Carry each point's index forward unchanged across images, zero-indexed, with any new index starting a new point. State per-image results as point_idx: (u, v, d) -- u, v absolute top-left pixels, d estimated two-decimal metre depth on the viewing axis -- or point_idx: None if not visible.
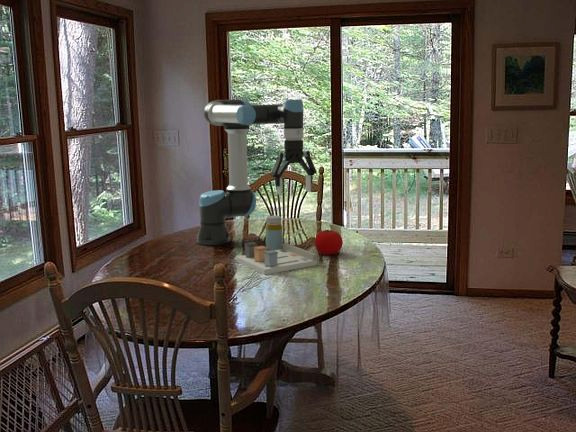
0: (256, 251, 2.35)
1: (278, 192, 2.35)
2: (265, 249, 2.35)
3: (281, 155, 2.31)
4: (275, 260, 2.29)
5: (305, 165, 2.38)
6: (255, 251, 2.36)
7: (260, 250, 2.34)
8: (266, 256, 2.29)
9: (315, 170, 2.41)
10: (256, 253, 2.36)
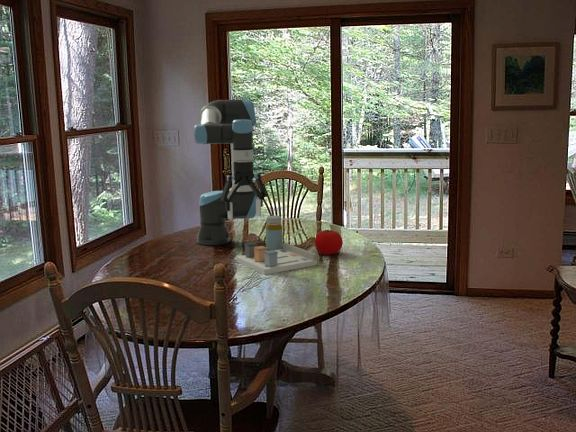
0: (256, 251, 2.35)
1: (228, 217, 2.26)
2: (265, 249, 2.35)
3: (229, 178, 2.22)
4: (275, 260, 2.29)
5: (255, 188, 2.29)
6: (255, 251, 2.36)
7: (260, 250, 2.34)
8: (266, 256, 2.29)
9: (266, 194, 2.32)
10: (256, 253, 2.36)
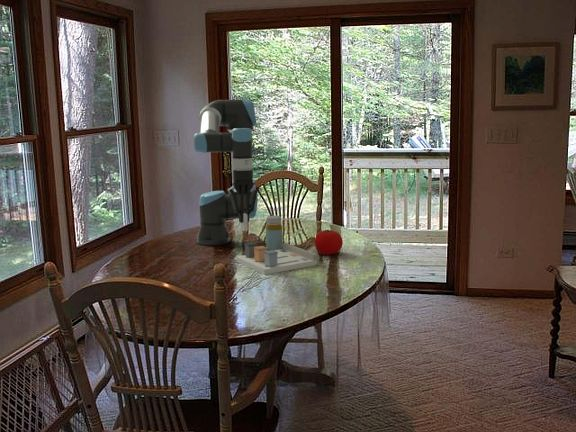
0: (256, 251, 2.35)
1: (242, 228, 2.30)
2: (265, 249, 2.35)
3: (231, 192, 2.24)
4: (275, 260, 2.29)
5: (248, 200, 2.28)
6: (255, 251, 2.36)
7: (260, 250, 2.34)
8: (266, 256, 2.29)
9: (253, 208, 2.30)
10: (256, 253, 2.36)
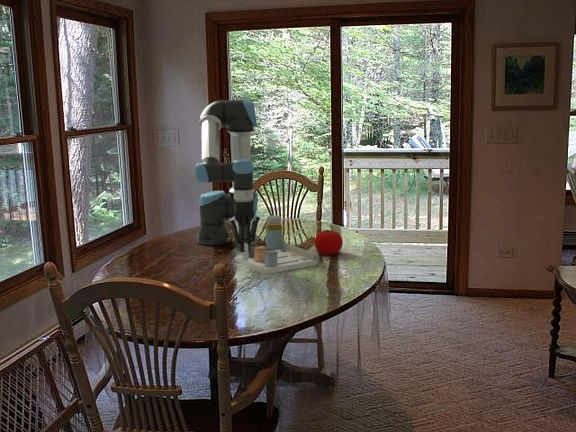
0: (256, 251, 2.35)
1: (243, 258, 2.33)
2: (265, 249, 2.35)
3: (232, 223, 2.26)
4: (275, 260, 2.29)
5: (248, 230, 2.30)
6: (255, 251, 2.36)
7: (260, 250, 2.34)
8: (266, 256, 2.29)
9: (254, 238, 2.32)
10: (256, 253, 2.36)
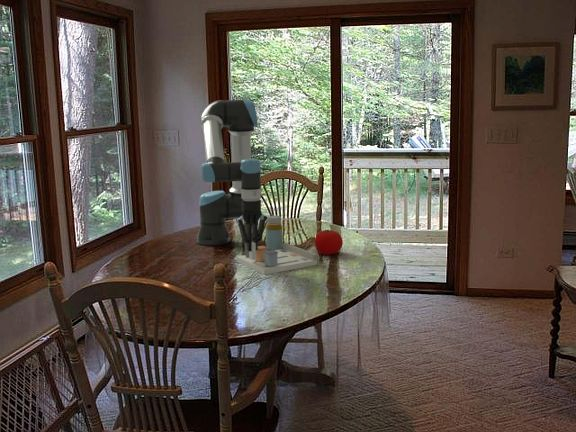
0: (257, 251, 2.35)
1: (250, 257, 2.34)
2: (266, 249, 2.35)
3: (240, 222, 2.28)
4: (275, 260, 2.29)
5: (256, 229, 2.32)
6: (256, 251, 2.36)
7: (261, 250, 2.34)
8: (266, 256, 2.29)
9: (261, 237, 2.34)
10: (256, 253, 2.36)
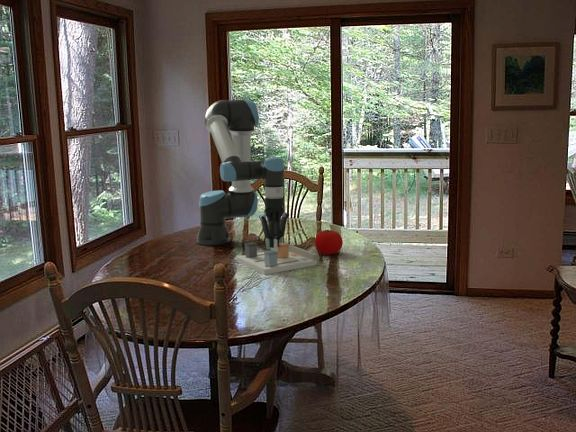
0: (278, 247, 2.40)
1: None
2: (287, 245, 2.40)
3: (263, 219, 2.33)
4: (275, 260, 2.29)
5: (278, 226, 2.37)
6: (277, 247, 2.41)
7: (282, 246, 2.39)
8: (266, 256, 2.29)
9: (283, 234, 2.39)
10: (278, 249, 2.41)
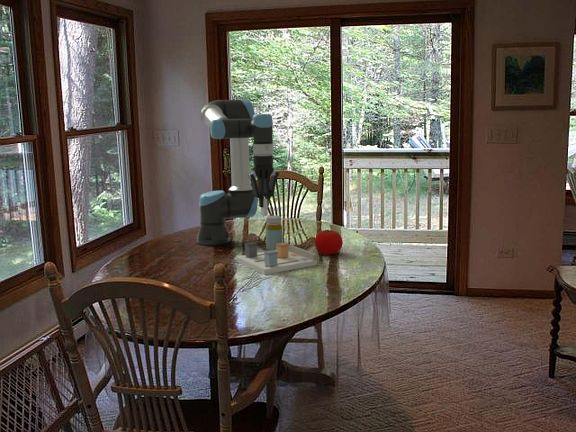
0: (278, 247, 2.40)
1: (262, 213, 2.34)
2: (287, 246, 2.40)
3: (252, 177, 2.28)
4: (275, 260, 2.29)
5: (268, 185, 2.32)
6: (277, 247, 2.41)
7: (282, 246, 2.39)
8: (266, 256, 2.29)
9: (273, 193, 2.34)
10: (277, 249, 2.41)
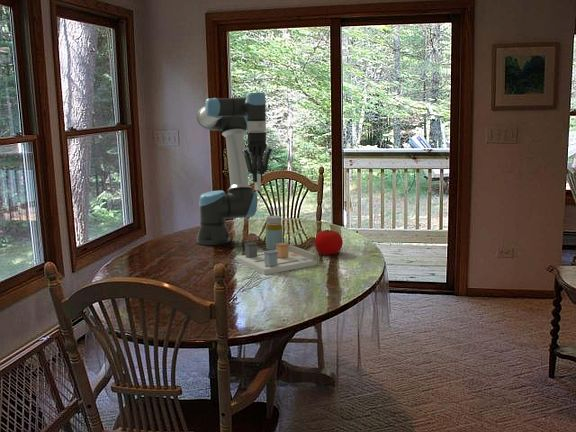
0: (278, 247, 2.40)
1: (255, 188, 2.45)
2: (287, 246, 2.40)
3: (246, 152, 2.38)
4: (275, 260, 2.29)
5: (261, 160, 2.42)
6: (277, 247, 2.41)
7: (282, 246, 2.39)
8: (266, 256, 2.29)
9: (266, 169, 2.44)
10: (277, 249, 2.41)
